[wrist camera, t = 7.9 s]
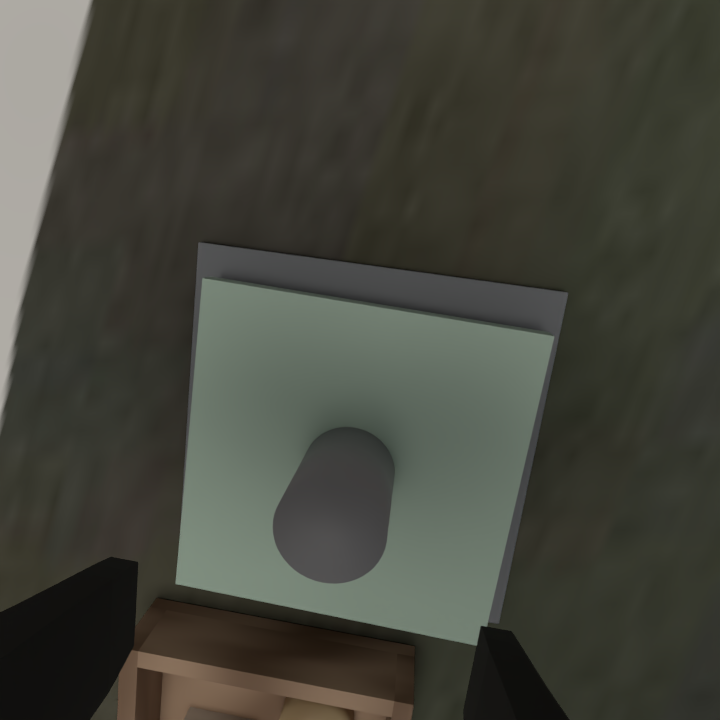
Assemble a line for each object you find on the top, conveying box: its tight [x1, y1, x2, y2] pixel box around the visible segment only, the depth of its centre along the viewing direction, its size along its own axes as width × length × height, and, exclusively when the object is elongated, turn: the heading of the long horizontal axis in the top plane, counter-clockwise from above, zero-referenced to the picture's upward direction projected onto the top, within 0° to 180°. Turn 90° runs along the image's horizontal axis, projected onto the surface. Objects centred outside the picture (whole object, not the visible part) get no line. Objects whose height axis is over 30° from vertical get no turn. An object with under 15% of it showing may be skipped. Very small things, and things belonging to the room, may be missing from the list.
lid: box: [176, 277, 554, 646], centre depth 18 cm, size 12×12×6 cm
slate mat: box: [181, 242, 568, 624], centre depth 21 cm, size 13×13×1 cm
